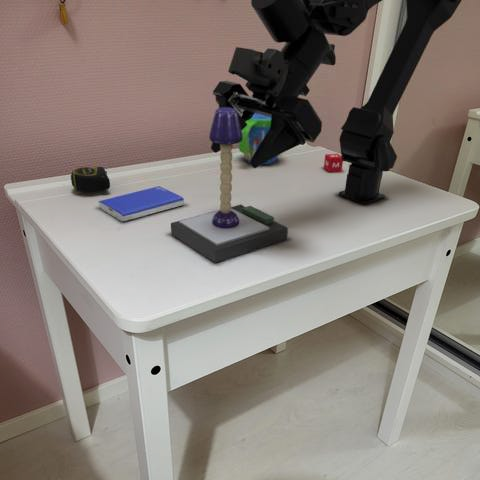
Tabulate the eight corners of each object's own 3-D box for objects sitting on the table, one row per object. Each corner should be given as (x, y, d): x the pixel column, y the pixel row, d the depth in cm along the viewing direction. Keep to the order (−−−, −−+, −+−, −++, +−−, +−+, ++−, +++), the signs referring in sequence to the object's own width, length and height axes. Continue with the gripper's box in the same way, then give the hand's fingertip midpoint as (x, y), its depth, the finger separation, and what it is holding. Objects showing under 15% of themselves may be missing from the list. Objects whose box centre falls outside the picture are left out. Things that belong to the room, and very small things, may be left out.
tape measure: (111, 195, 92) (109, 175, 90) (73, 198, 90) (70, 177, 88) (108, 183, 97) (105, 164, 95) (72, 185, 95) (69, 166, 93)
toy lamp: (245, 227, 75) (248, 111, 65) (216, 232, 73) (216, 113, 64) (232, 216, 78) (234, 104, 69) (205, 220, 77) (203, 106, 67)
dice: (328, 172, 106) (330, 158, 105) (323, 168, 109) (325, 154, 107) (341, 171, 107) (343, 157, 105) (336, 167, 110) (337, 153, 108)
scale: (240, 215, 85) (240, 199, 83) (287, 239, 77) (288, 222, 76) (171, 234, 78) (170, 218, 76) (215, 263, 70) (215, 245, 68)
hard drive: (158, 185, 92) (98, 199, 85) (183, 197, 87) (122, 213, 80) (158, 193, 93) (99, 208, 86) (184, 205, 88) (123, 222, 81)
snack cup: (258, 173, 105) (260, 123, 99) (221, 163, 110) (221, 115, 104) (298, 158, 115) (302, 112, 109) (262, 149, 120) (264, 105, 114)
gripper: (223, 18, 70) (161, 109, 71) (316, 27, 58) (241, 136, 59) (262, 75, 79) (207, 155, 79) (350, 93, 67) (285, 188, 67)
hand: (231, 158), depth 71 cm, fingers open, 9 cm apart
